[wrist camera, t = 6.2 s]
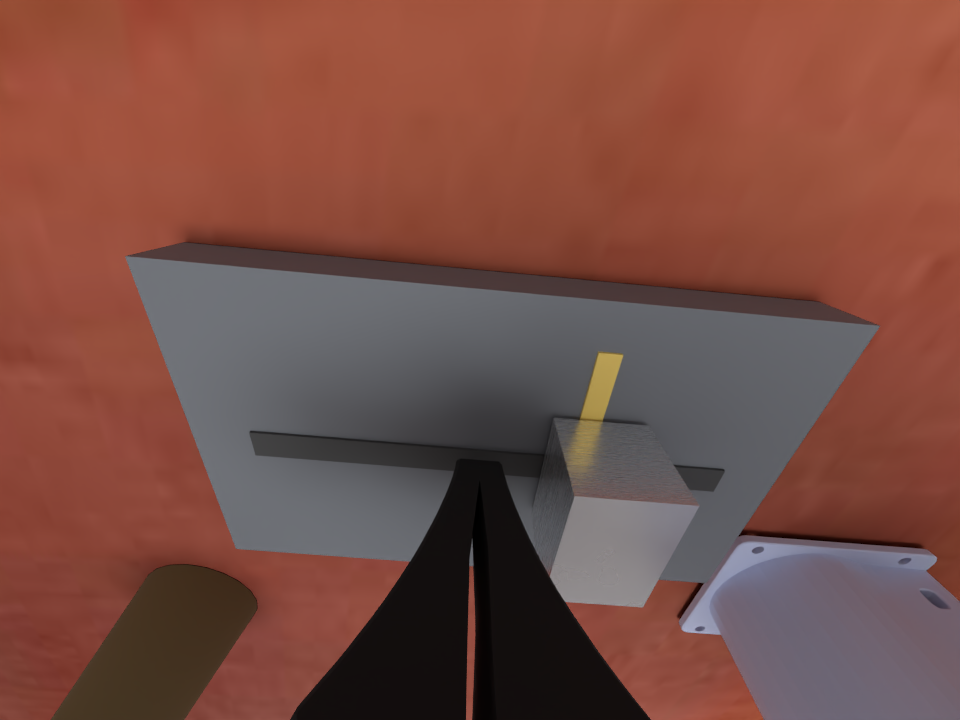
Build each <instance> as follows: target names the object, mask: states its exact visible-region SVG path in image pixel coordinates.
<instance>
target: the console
mask: <svg viewBox="0 0 960 720" xmlns="http://www.w3.org/2000/svg"><path fill="white" fill-rule="evenodd" d="M125 257H126V260H127V262H128V265H129V268H130V270H131V273H132V276H133V278H134V281H135V284H136V286H137V289H138V291H139V294H140V297H141V299H142V302H143V305H144V307H145V310H146V312H147V315H148V318H149V320H150V323H151V326H152V328H153V331H154V334H155V336H156V339H157V341H158V344H159V347H160V349H161V352H162V355H163V357H164V360H165V363H166V365H167V368H168V370H169V373H170V376H171V378H172V381H173V384H174V386H175V389H176V392H177V394H178V397H179V399H180V402H181V405H182V407H183V410H184V413H185V415H186V418H187V420H188V423H189V426H190V428H191V431H192V434H193V436H194V439H195V442H196V444H197V447H198V449H199V452H200V455H201V457H202V460H203V463H204V465H205V468H206V471H207V473H208V476H209V478H210V481H211V484H212V486H213V489H214V492H215V494H216V497H217V500H218V502H219V505H220V507H221V510H222V513H223V515H224V518H225V521H226V523H227V526H228V528H229V531H230V534H231V536H232V539H233V542H234V544H235V547H236V549H245V550H259V551H273V552H286V553H300V554H314V555H328V556H341V557H355V558H369V559H383V560H396V561H411V559H412V558H413V556H414V554H415V553H416V551H417V549H418V548H419V546H420V544H421V542H422V541H423V539H424V537H425V535H426V533H427V531H428V530H429V528H430V526H431V524H432V522H433V520H434V518H435V516H436V514H437V512H438V510H439V508H440V506H441V503H442V501H443V499H444V497H445V495H446V492H447V490H448V487H449V485H450V482H451V479H452V476H453V473H454V470H455V465H456V461H457V460H458V459H460V458H461V459H474V460H486V461H499V462H500V463H501V464H502V467H503V471H504V475H505V478H506V482H507V485H508V488H509V490H510V493H511V496H512V499H513V501H514V504H515V506H516V509H517V511H518V513H519V516H520V518H521V520H522V523H523V525H524V527H525V530H526V532H527V534H528V536H529V538H530V540H531V542H532V544H533V546H534V548H535V550H536V546H535V538H534V530H533V522H532V514H531V512H532V508H533V504H534V500H535V495H536V491H537V487H538V482H539V478H540V474H541V470H542V465H543V461H544V457H545V452H546V448H547V444H548V440H549V435H550V431H551V427H552V422H553V418H563V419H575V420H587V421H599V422H611V423H623V424H635V425H646V426H649V427H650V429H651V430H652V432H653V433H654V435H655V436H656V438H657V440H658V441H659V443H660V444H661V446H662V447H663V449H664V451H665V452H666V454H667V455H668V457H669V459H670V460H671V462H672V463H673V465H674V466H675V468H676V470H677V471H678V473H679V474H680V476H681V477H682V479H683V481H684V482H685V484H686V485H687V487H688V489H689V490H690V492H691V493H692V495H693V496H694V498H695V500H696V501H697V503H698V504H699V508H698V510H697V511H696V513H695V515H694V517H693V519H692V520H691V522H690V524H689V526H688V528H687V529H686V531H685V533H684V535H683V536H682V538H681V540H680V542H679V544H678V545H677V547H676V549H675V551H674V553H673V554H672V556H671V558H670V560H669V561H668V563H667V565H666V567H665V569H664V570H663V572H662V574H661V576H660V578H659V579H658V580H671V581H685V582H698V583H707V582H708V580H709V579H710V577H711V576H712V574H713V573H714V571H715V570H716V568H717V567H718V565H719V564H720V563H721V561H722V560H723V558H724V557H725V555H726V554H727V552H728V551H729V549H730V548H731V546H732V545H733V543H734V542H735V540H736V539H737V537H738V536H739V534H740V533H741V531H742V530H743V528H744V527H745V525H746V524H747V523H748V521H749V520H750V518H751V517H752V515H753V514H754V512H755V511H756V509H757V508H758V506H759V505H760V503H761V502H762V500H763V499H764V497H765V496H766V494H767V493H768V491H769V490H770V488H771V487H772V485H773V484H774V483H775V481H776V480H777V478H778V477H779V475H780V474H781V472H782V471H783V469H784V468H785V466H786V465H787V463H788V462H789V460H790V459H791V457H792V456H793V454H794V453H795V451H796V450H797V448H798V447H799V446H800V444H801V443H802V441H803V440H804V438H805V437H806V435H807V434H808V432H809V431H810V429H811V428H812V426H813V425H814V423H815V422H816V420H817V419H818V417H819V416H820V414H821V413H822V411H823V410H824V408H825V407H826V406H827V404H828V403H829V401H830V400H831V398H832V397H833V395H834V394H835V392H836V391H837V389H838V388H839V386H840V385H841V383H842V382H843V380H844V379H845V377H846V376H847V374H848V373H849V371H850V370H851V368H852V367H853V366H854V364H855V363H856V361H857V360H858V358H859V357H860V355H861V354H862V352H863V351H864V349H865V348H866V346H867V345H868V343H869V342H870V340H871V339H872V337H873V336H874V334H875V333H876V331H877V330H878V328H879V327H880V326H879V325H877V324H874V323H871V322H869V321H866V320H864V319H861V318H859V317H856V316H854V315H851V314H849V313H846V312H844V311H841V310H839V309H836V308H833V307H831V306H828V305H826V304H823V303H821V302H816V301H805V300H794V299H784V298H773V297H762V296H752V295H741V294H730V293H720V292H709V291H698V290H688V289H677V288H666V287H656V286H645V285H634V284H624V283H613V282H602V281H592V280H581V279H570V278H560V277H549V276H538V275H528V274H517V273H506V272H496V271H485V270H474V269H464V268H453V267H442V266H432V265H421V264H410V263H400V262H389V261H378V260H368V259H357V258H346V257H336V256H325V255H314V254H304V253H293V252H282V251H271V250H261V249H250V248H239V247H229V246H218V245H207V244H197V243H186V242H184V243H179V244H175V245H171V246H166V247H162V248H158V249H154V250H149V251H145V252H141V253H137V254H132V255H128V256H125ZM469 566H473V543H472V544H471V552H470V563H469Z"/></svg>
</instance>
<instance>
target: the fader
mask: <svg viewBox="0 0 960 720" xmlns="http://www.w3.org/2000/svg"><path fill="white" fill-rule="evenodd" d="M698 508H699V504H698V503H697V501H696V500H695V498H694V496H693V495H692V493H691V492H690V490H689V489H688V487H687V485H686V484H685V482H684V481H683V479H682V477H681V476H680V474H679V473H678V471H677V470H676V468H675V466H674V465H673V463H672V462H671V460H670V459H669V457H668V455H667V454H666V452H665V451H664V449H663V447H662V446H661V444H660V443H659V441H658V440H657V438H656V436H655V435H654V433H653V432H652V430H651V429H650V427H649V426H646V425H635V424H623V423H611V422H599V421H587V420H575V419H563V418H553V422H552V427H551V431H550V435H549V440H548V444H547V448H546V452H545V457H544V461H543V465H542V470H541V474H540V478H539V482H538V487H537V491H536V495H535V500H534V504H533V508H532V512H531V514H532V522H533V530H534V538H535V546H536V552H537V554H538V556H539V558H540V560H541V562H542V564H543V565H544V567H545V569H546V571H547V573H548V574H549V576H550V578H551V580H552V581H553V583H554V585H555V587H556V588H557V590H558V592H559V593H560V595H561V596H562V598H563V600H564V601H565V602H575V603H589V604H603V605H617V606H631V607H643V606H644V604H645V603H646V601H647V599H648V597H649V595H650V594H651V592H652V590H653V588H654V587H655V585H656V583H657V581H658V579H659V578H660V576H661V574H662V572H663V570H664V569H665V567H666V565H667V563H668V561H669V560H670V558H671V556H672V554H673V553H674V551H675V549H676V547H677V545H678V544H679V542H680V540H681V538H682V536H683V535H684V533H685V531H686V529H687V528H688V526H689V524H690V522H691V520H692V519H693V517H694V515H695V513H696V511H697V510H698Z"/></svg>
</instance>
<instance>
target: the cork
mask: <svg viewBox="0 0 960 720" xmlns="http://www.w3.org/2000/svg"><path fill="white" fill-rule="evenodd" d="M256 611H257V600H256V599H255V597H254V596H253V594H252V593H251V591H250V590H249V589H247V588H246V587H245V586H244V585H243V584H241V583H240V582H239V581H237V580H235V579H233V578H231V577H229V576H228V575H226V574H224V573H221V572H218V571H215V570H211V569H208V568H205V567H199V566H193V565H168V566H165V567H161V568H157V569H156V570H154V571H153V572H152V573H150V574H149V575H148V576H147V578H146V579H145V581H144V582H143V584H142V585H141V587H140V588H139V590H138V591H137V593H136V594H135V596H134V597H133V599H132V600H131V602H130V603H129V605H128V606H127V607H126V609H125V610H124V612H123V613H122V615H121V616H120V618H119V619H118V621H117V622H116V624H115V625H114V627H113V628H112V630H111V631H110V633H109V634H108V636H107V637H106V639H105V640H104V642H103V643H102V645H101V646H100V648H99V649H98V651H97V652H96V654H95V655H94V657H93V658H92V659H91V661H90V662H89V664H88V665H87V667H86V668H85V670H84V671H83V673H82V674H81V676H80V677H79V679H78V680H77V682H76V683H75V685H74V686H73V688H72V689H71V691H70V692H69V694H68V695H67V697H66V698H65V700H64V701H63V703H62V704H61V706H60V707H59V708H58V710H57V711H56V713H55V714H54V716H53V717H52V719H51V720H184V719H185V718H186V716H187V715H188V713H189V712H190V710H191V709H192V707H193V706H194V704H195V703H196V701H197V700H198V698H199V697H200V695H201V694H202V692H203V691H204V689H205V688H206V686H207V685H208V683H209V682H210V680H211V679H212V677H213V676H214V674H215V673H216V671H217V670H218V668H219V667H220V665H221V664H222V662H223V661H224V659H225V658H226V656H227V655H228V653H229V652H230V650H231V649H232V647H233V646H234V644H235V643H236V641H237V640H238V638H239V636H240V635H241V633H242V632H243V630H244V629H245V627H246V626H247V624H248V623H249V621H250V620H251V618H252V617H253V615H254V614H255V612H256Z"/></svg>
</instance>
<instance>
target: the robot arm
mask: <svg viewBox="0 0 960 720" xmlns="http://www.w3.org/2000/svg"><path fill="white" fill-rule="evenodd" d="M472 543H473V569H474V595H475V633H476V636H475V664H474V690H473V715H472V720H651V719H650V718H649V717H648V715H647V714H646V713H645V712H644V711H643V709H642V708H641V707H640V706H639V704H638V703H637V702H636V701H635V699H634V698H633V697H632V696H631V694H630V693H629V692H628V690H627V689H626V688H625V687H624V685H623V684H622V683H621V681H620V680H619V679H618V678H617V676H616V675H615V673H614V672H613V671H612V669H611V668H610V667H609V665H608V664H607V663H606V661H605V660H604V659H603V657H602V656H601V655H600V653H599V652H598V650H597V649H596V648H595V646H594V645H593V643H592V642H591V640H590V639H589V637H588V636H587V634H586V633H585V631H584V630H583V629H582V627H581V626H580V624H579V623H578V621H577V620H576V618H575V617H574V615H573V614H572V612H571V611H570V609H569V608H568V606H567V604H566V603H565V601H564V600H563V598H562V596H561V595H560V593H559V592H558V590H557V588H556V587H555V585H554V583H553V581H552V580H551V578H550V576H549V574H548V573H547V571H546V569H545V567H544V565H543V564H542V562H541V560H540V558H539V556H538V554H537V552H536V550H535V548H534V546H533V544H532V542H531V540H530V538H529V536H528V534H527V532H526V530H525V527H524V525H523V523H522V520H521V518H520V516H519V513H518V511H517V509H516V506H515V504H514V501H513V499H512V496H511V493H510V490H509V488H508V485H507V482H506V478H505V475H504V471H503V467H502V464H501V463H500V462H499V461H486V460H474V459H461V458H460V459H458V460H457V461H456V465H455V470H454V473H453V476H452V479H451V482H450V485H449V487H448V490H447V492H446V495H445V497H444V499H443V501H442V503H441V506H440V508H439V510H438V512H437V514H436V516H435V518H434V520H433V522H432V524H431V526H430V528H429V530H428V531H427V533H426V535H425V537H424V539H423V541H422V542H421V544H420V546H419V548H418V549H417V551H416V553H415V554H414V556H413V558H412V559H411V561H410V562H409V564H408V566H407V567H406V569H405V570H404V572H403V573H402V575H401V576H400V578H399V579H398V581H397V582H396V584H395V585H394V587H393V588H392V590H391V591H390V593H389V594H388V595H387V597H386V598H385V600H384V601H383V603H382V604H381V605H380V607H379V608H378V610H377V611H376V612H375V614H374V615H373V616H372V618H371V619H370V620H369V621H368V623H367V624H366V625H365V627H364V628H363V629H362V630H361V632H360V633H359V634H358V635H357V637H356V638H355V639H354V641H353V642H352V643H351V644H350V646H349V647H348V648H347V650H346V651H345V652H344V653H343V654H342V656H341V657H340V658H339V659H338V661H337V662H336V663H335V664H334V665H333V666H332V668H331V669H330V670H329V671H328V672H327V673H326V675H325V676H324V677H323V678H322V679H321V680H320V681H319V683H318V684H317V685H316V686H315V687H314V688H313V690H312V691H311V692H310V693H309V694H308V695H307V697H306V698H305V699H304V700H303V701H302V702H301V703H300V705H299V706H298V707H297V709H296V711H295V712H294V714H293V716H292V717H291V719H290V720H466V679H467V633H468V596H469V563H470V552H471V544H472ZM936 561H937V557H936V556H934V555H933V554H932V553H931V552H930V551H929V550H926V549H920V548H907V547H894V546H880V545H867V544H854V543H841V542H828V541H815V540H802V539H789V538H776V537H763V536H750V535H742V536H738V537H737V539H736V540H735V542H734V543H733V545H732V546H731V548H730V549H729V551H728V552H727V554H726V555H725V557H724V558H723V560H722V561H721V563H720V564H719V565H718V567H717V568H716V570H715V571H714V573H713V574H712V576H711V577H710V579H709V580H708V582H707V583H704V584H703V586H702V587H701V589H700V590H699V592H698V593H697V595H696V596H695V597H694V599H693V600H692V602H691V603H690V605H689V606H688V608H687V609H686V611H685V612H684V614H683V615H682V617H681V618H680V620H679V624H680V627H681V629H682V630H683V631H685V632H689V633H704V634H718V635H721V636H722V638H723V639H724V641H725V643H726V645H727V647H728V649H729V651H730V653H731V655H732V657H733V659H734V661H735V663H736V665H737V667H738V669H739V671H740V673H741V675H742V677H743V679H744V681H745V683H746V685H747V687H748V689H749V691H750V693H751V695H752V697H753V699H754V701H755V703H756V705H757V707H758V709H759V711H760V713H761V715H762V717H763V719H764V720H960V601H959V600H957V599H956V598H955V597H954V596H953V595H952V594H951V593H950V592H949V591H948V590H947V589H945V588H944V587H943V586H942V585H941V584H940V583H939V582H938V581H937V580H936V579H934V578H933V577H932V576H931V575H930V574H929V573H928V572H927V570H928V569H929V568H930V567H931V566H932V565H934V564H935V562H936Z"/></svg>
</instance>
